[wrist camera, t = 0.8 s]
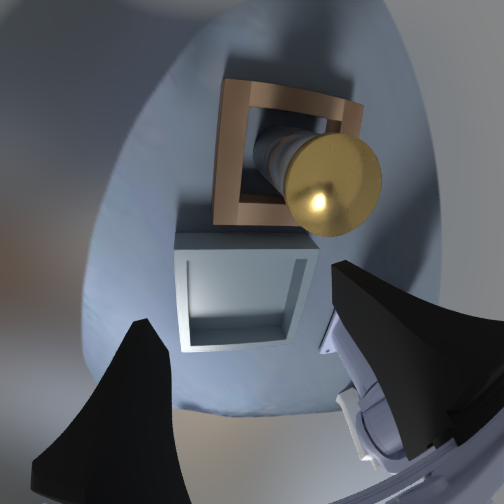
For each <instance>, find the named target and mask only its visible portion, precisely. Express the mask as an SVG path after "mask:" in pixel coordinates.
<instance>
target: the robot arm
mask: <svg viewBox="0 0 504 504" xmlns="http://www.w3.org/2000/svg"><path fill="white" fill-rule="evenodd" d="M331 269H332V304H333V306H334V308H335V312H334V314H333V317H332V320H331V322H330V325H329V327H328V330H327V332H326V335H325V337H324V340H323V342H322V344H321V347H320V349H319V352H320V354H326V353H332V352H337V353H338V355H339V357H340V359H341V361H342V362H343V364H344V366H345V368H346V370H347V372H348V374H349V376H350V377H351V379H352V381H353V383H354V385H355V387H356V389H357V391H358V393H359V395H360V396H361V398H362V399H361V400H360V401H359V402H358V405H359V407H360V409H361V410H360V411H359V412H358V413H357V415H356V421H355V427H356V432H357V435H358V437H359V439H360V441H361V443H362V445H363V446H364V448H365V449H366V451H367V452H368V453H369V454H370V455H371V456H373V457H374V458H375V459H376V460H377V461H378V462H379V463H380V464H381V466H382V467H383V469H385V470H386V471H387V472H388V473H389V474H396V475H394V476H392V477H390V478H388V479H386V480H384V481H382V482H380V483H378V484H376V485H374V486H372V487H370V488H367V489H365V490H363V491H361V492H358V493H356V494H353V495H351V496H348V497H346V498H344V499H341V500H338V501H335V502H333V503H330V504H374V503H376V502H379V501H381V500H383V499H385V498H387V497H389V496H391V495H393V494H395V493H396V492H398V491H400V490H402V489H404V488H406V487H407V486H409V485H411V484H412V483H414V482H416V481H417V480H419V479H421V478H422V477H423V479H424V481H423V482H422V483H420V484H418V485H415V486H413V487H411V488H410V489H408V490H406V491H404V492H403V493H401V494H399V495H398V496H396V497H394V498H392V499H391V500H389V501H387V502H386V503H385V504H494V502H493V500H492V497H493V496H494V495H495V494H496V492H497V491H498V490H499V489H500V488H501V486H502V485H503V484H504V321H497V320H490V319H484V318H479V317H474V316H470V315H466V314H462V313H459V312H455V311H452V310H449V309H445V308H443V307H440V306H437V305H434V304H432V303H429V302H427V301H424V300H422V299H419V298H417V297H415V296H413V295H411V294H409V293H406V292H404V291H402V290H400V289H398V288H396V287H394V286H392V285H390V284H388V283H387V282H385V281H383V280H381V279H379V278H377V277H376V276H374V275H372V274H370V273H368V272H367V271H365V270H363V269H361V268H360V267H358V266H356V265H354V264H352V263H351V262H349V261H347V260H344V261H341V262H338V263H335V264H332V265H331ZM31 490H32V491H33V492H35V493H37V494H39V495H41V496H44V497H46V498H49V499H52V500H54V501H57V502H60V503H63V504H192V503H191V501H190V498H189V495H188V493H187V490H186V486H185V484H184V480H183V476H182V473H181V469H180V465H179V461H178V456H177V452H176V446H175V441H174V435H173V426H172V378H171V366H170V358H169V351H168V349H167V348H166V346H165V345H164V343H163V342H162V340H161V339H160V337H159V336H158V334H157V333H156V331H155V330H154V328H153V327H152V325H151V324H150V322H149V320H148V319H147V318H146V319H142V320H138V321H134V322H133V323H132V325H131V326H130V328H129V330H128V332H127V333H126V335H125V337H124V339H123V341H122V343H121V345H120V346H119V348H118V350H117V352H116V354H115V356H114V357H113V359H112V361H111V363H110V365H109V367H108V368H107V370H106V372H105V373H104V375H103V377H102V379H101V380H100V382H99V384H98V386H97V387H96V389H95V390H94V392H93V394H92V395H91V397H90V398H89V400H88V401H87V402H86V404H85V405H84V407H83V408H82V410H81V411H80V412H79V414H78V415H77V416H76V417H75V419H74V420H73V421H72V422H71V424H70V425H69V426H68V427H67V428H66V430H65V431H64V432H63V433H62V434H61V435H60V436H59V437H58V438H57V439H56V440H55V441H54V443H53V444H51V446H49V447H48V448H47V449H46V450H45V451H44V452H43V453H42V454H41V455H39V456H38V457H37V458H36V459H35V460H33V462H32V473H31ZM43 504H47V503H43Z"/></svg>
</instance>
